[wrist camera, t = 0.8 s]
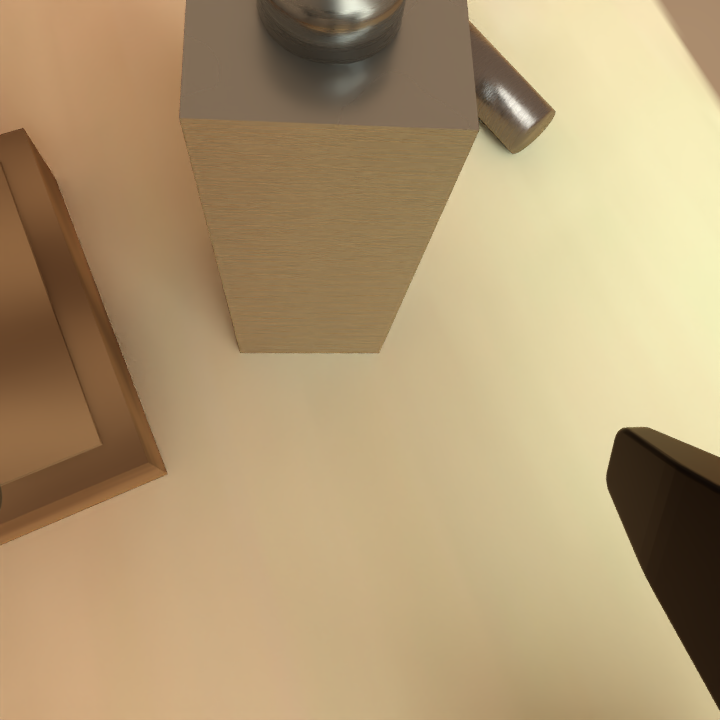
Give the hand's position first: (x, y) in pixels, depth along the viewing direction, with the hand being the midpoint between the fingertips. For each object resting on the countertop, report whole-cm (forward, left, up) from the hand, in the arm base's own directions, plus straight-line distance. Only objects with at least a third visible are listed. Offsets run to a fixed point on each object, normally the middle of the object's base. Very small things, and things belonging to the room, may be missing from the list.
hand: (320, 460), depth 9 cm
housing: (+8, -1, -13) cm, 15 cm away
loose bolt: (+16, -9, -13) cm, 22 cm away
